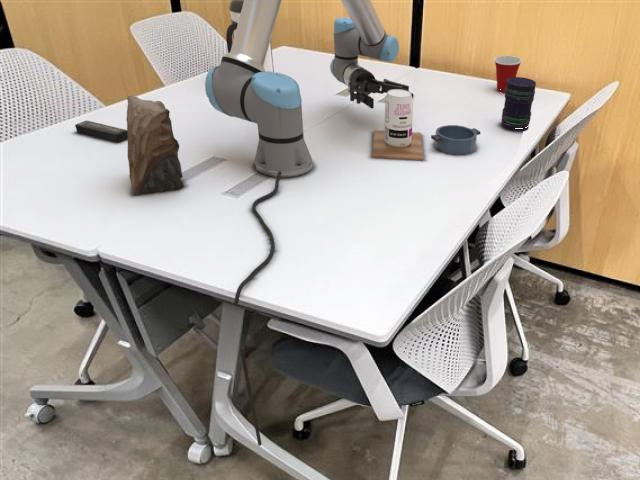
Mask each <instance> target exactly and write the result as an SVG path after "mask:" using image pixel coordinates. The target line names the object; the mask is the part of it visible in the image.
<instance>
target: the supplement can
mask: <svg viewBox="0 0 640 480" xmlns="http://www.w3.org/2000/svg"><path fill="white" fill-rule="evenodd" d="M411 93H412V92H411V91H410V90H409V91H406V90H402V89H393V90H389V91H388V92H387V93H386V95H385V97H384V131H385V142H386V143H387V144H388V145H389V146H391V147H396V148H403V147H407V146H409V144H411V142H412V132H413V119H414V118H413V117H414V116H413V114H414V97H413V98H412V95H411Z"/></svg>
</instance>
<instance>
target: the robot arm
mask: <svg viewBox="0 0 640 480" xmlns="http://www.w3.org/2000/svg"><path fill="white" fill-rule="evenodd" d="M340 1H341V3H342V6H343V7H344V9H345V11H346V12H347V14H348V16H349V17H346V16H345V17H343V16H341V17H337V18H336V19H334V21H333V48H334V58H332V60H331V62H330V65H329V68H330V73H331V75H332V76H333V77H334V78H335V79H336V80H337V81H338V82H340V83H341V84H343V85H345V86H346V87H348V88H347V90H348V93H349V101H350V102H355V100H356V104H359V105H360V104H364V105H365V106H367V107H368V108H370V109H372V110H373V109H374V108H375V98H373V97H372V96H370V94H381V95H382V94H387V92H388V91H389V90H393V89H402V90H406V91H409V92H410V86H409V85H407V84H405V83H404V84H403V83H399V82H397V81H393V80H389V79H387V78H383V81H382V80H378V79H376V77H375V75H374V74H373V73H372V72H371V71H369V70H368V69H366V68H364V67H363V66H361V65H359V56H362V57H365V58H366V57H367V58H370V59H374V60H378V61H380V62H386V63H387V62H389V63H393V62H394V61H395V60H396V59H397V56H398V54H399V53H400V52H399V51H400V42H399V39H398V38H397V37H396V36H394V35H391V34H387V32H386V29H385V28H384V25H383V23H382V21H381V19H380V17H379V14H378V13H377V10H376V8H375V6H374V4H373V2H372V0H340ZM281 4H282V0H244V3H243V7H242V10H241V14H240V18H239V22H238V25H237V29H236V33H235V36H234V39H232V43H233V44H232V48H231V51H230V53H228V52H227V53H226V54H223V55H222V57H221V60H220V63H219V65H215V66H213V67H212V68H210V69H209V70H208V72H207V74H206V76H205V81H204V88H205V95H206V97H207V98H208V101H209V104H210V105H211V106H212V108H214V109H215V110H216V111H218V112H219V113H222V114H224V115H226V116H229V117H231V118H232V117H233V118H237V119H240V120H244V121H247V122H250V123H253V124H256V126H257V132H258V143H257V146H256V147H257V148H256V152H255V157H254V163H255V169H256V170H257V171H258V172H259V173H260V174H263V175H266V176H269V177H273V178H276V179H275V186H274V189H273V190H272V191H271V192H269V193H267V194H265V195H263V196H261V197H258V198H257V199H255V200H254V201H253V203H252V205H251V210H252V212H253V214H254V215H255V216H256V218H257V219H258V221H259V222H260V224H261V225H262V227H263V228H264V229H265V231H266V232H267V234H268V237H269V240H270V251H269V254H268V255H267V257H266V258H265V259H264V261H262V262H261V263H260V264H259V265H258V266H256V267H255V268H254V269H253V270H252V271H251V273H250V274H249V275H248V276H247V277H246V278H245V279H244V280H243V281H242V282H241V283H240V284H239V285H238V287H237V289H236V292H235V296H234V302H233V303H234V305H238V304H239V302H240V297H241V293H242V290H243V288H244V287H245V286H246V285H247V284H248V283H249V282H250V281H251V280H252V279H253V278H254V276H256V274H257V273H259V271H260V270H261V269H263V268H264V267H265V266H266V265H267V264H268V263H269V262H270V261H271V259H272V258H273V256H274V254H275V248H276V243H275V238H274V235H273V233H272V231H271V229H270V228H269V226H268V225H267V223H265V221H264V219H263V217H262V216H261V214H260V213H259V212H258V211H257V209H256V206H257V204H259V203H260V202H262V201H264V200H266V199H268V198H270V197H272V196H273V195H275V194H276V193H277V192H278V190H279V185H280V180H281V178H294V177H299V176H303V175H305V174H307V173H308V172H311V170H312V169H313V158H312V155H311V153H310V150H309V147H308V145H307V143H306V140H305V137H304V136H305V135H304V123H303V120H304V119H303V107H302V105H303V104H302V102H303V101H302V94H301V89H300V86H299V84H298V82H297V81H296V80H295V79H294V78H293V77H291V76H289V75H287V74H285V73H281V72H277V71H276V72H274V73H273V72H266V71H265V69H264V66H263V65H264V62H265V58H266V54H267V51H268V47H269V44H270V40H271V41H272V36H273V32H274V28H275V25H276V22H277V18H278V14H279V11H280V7H281ZM411 95H412V98H413V99H414V97H415V94H414V93H413V92H411ZM240 357H241V363H242V364H241V365H242V368H243V374H244V381H245V384H246V391H247V395H248V401H249V406H250V410H251V415H252V419H253V425H254V430H255V435H256V440H257V445H258V446H259V447H260V446H262V445H263V444H262V439H261V433H260V427H259V422H258V418H257V412H256V408H255V407H256V406H255V402H254V401H255V400H254V397H253V392H252V387H251V381H250V376H249V370H248V365H247V364H248V363H247V358H246V351H245V349H243V348H242V349H240Z"/></svg>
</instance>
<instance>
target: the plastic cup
mask: <svg viewBox="0 0 640 480" xmlns="http://www.w3.org/2000/svg"><path fill="white" fill-rule="evenodd" d="M522 61H523V59H522V58H521V57H518V56H514V55H499V56H496V57H494V58H493V62H494V65H495V73H496V74H495V75H496V76H495V79H496V90H497V92H499V93H503V94H505V90H506V85H507V79H508V78H511V77H517V75H518V71H519V68H520V66H521V63H522ZM500 89H501V90H500Z"/></svg>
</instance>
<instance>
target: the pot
mask: <svg viewBox="0 0 640 480" xmlns="http://www.w3.org/2000/svg"><path fill="white" fill-rule="evenodd" d="M481 134H482V133H481V131H480V130H479V129H477V128H475V127H474V128H471V127H467V126H464V125H458V124H447V125H441V126H439V127H437V128H436V130H435V134H432V135H431V134H430V135H431V136H430V139H431V140H433V141H434V146H435V149H437V150H439V151H440V152H441V153H442V152H443V153H445V154H449V155H455V156H459V155H461V156H463V155H464V156H465V155H469V154H471V153H473V152H475V150H476V145H477V139H478V138H477V137H478V136H480V135H481Z"/></svg>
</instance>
